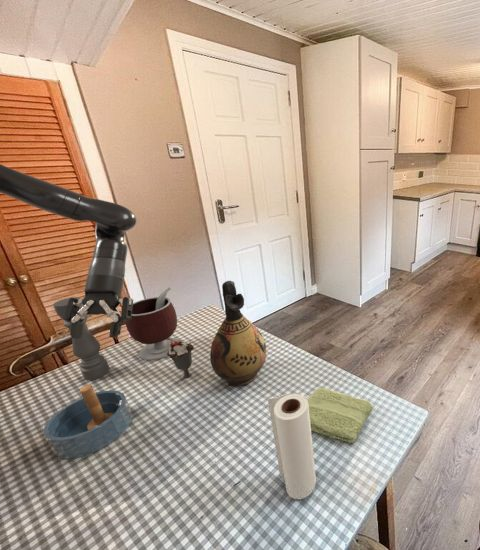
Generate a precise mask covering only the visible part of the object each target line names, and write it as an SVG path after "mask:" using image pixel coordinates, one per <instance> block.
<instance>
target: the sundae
mask: <svg viewBox="0 0 480 550" xmlns="http://www.w3.org/2000/svg"><path fill="white" fill-rule="evenodd" d="M170 338H171V337H169V338H168V339H167V340H169V339H170ZM171 340H172V339H171ZM173 341H174V340H173ZM174 342H175V341H174ZM170 346H171V347H170V349H169V351H168V353H167V357H169V358H170V359H171V361H172V362H173V364H174V366H175V367H176V369H178V370H180V371H183V376H182V379H184V380H186V379H187V380H188V379H190V378H191V377H193V373H191V372H190V371H189V368H191V366H192V364H193V357H192V356H193V355H192V351H194V349H195V347H194V345H192V341H189V343H186V342H185V341H182V340H180V341H179V342H178V341H176V342H175V343H172V341H171V344H170Z"/></svg>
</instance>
